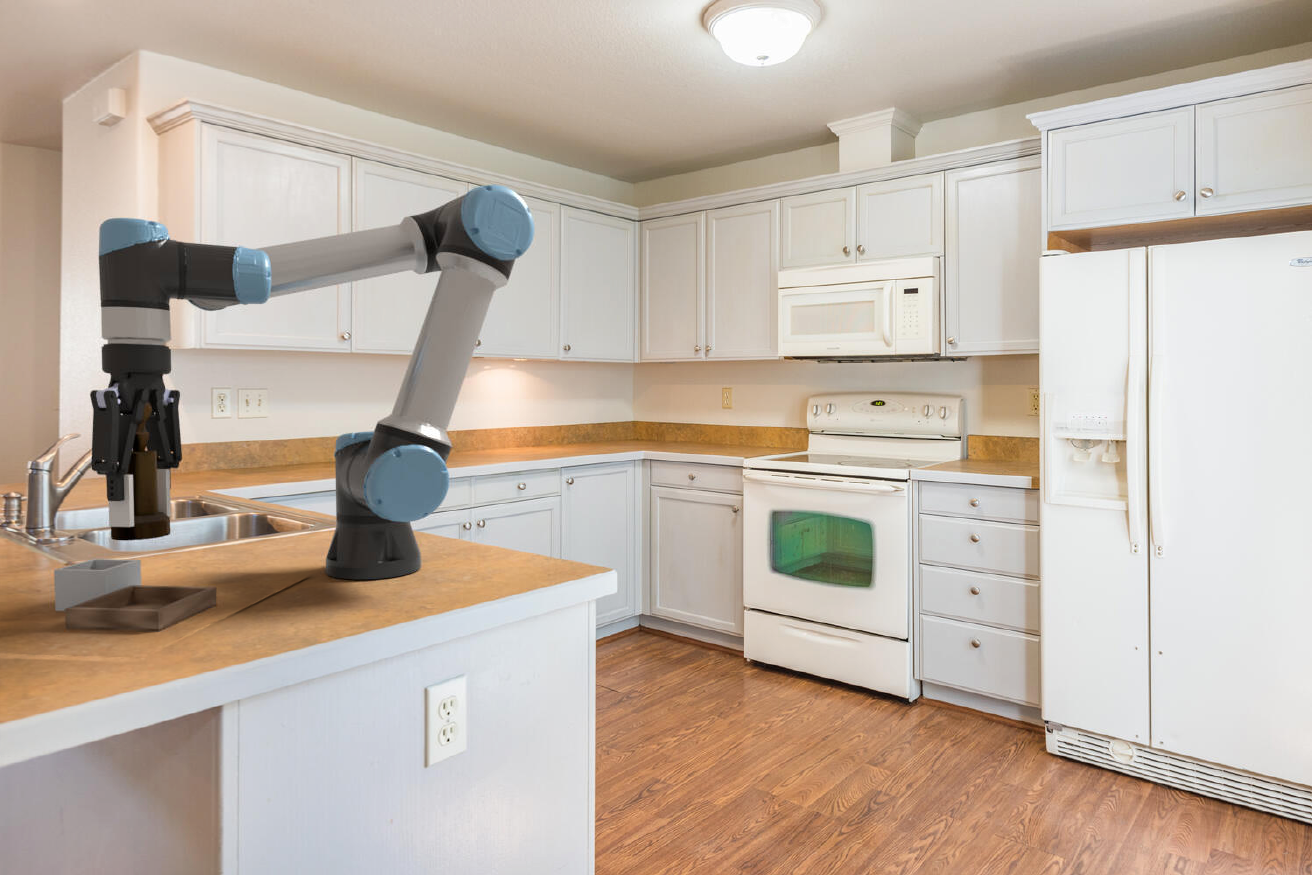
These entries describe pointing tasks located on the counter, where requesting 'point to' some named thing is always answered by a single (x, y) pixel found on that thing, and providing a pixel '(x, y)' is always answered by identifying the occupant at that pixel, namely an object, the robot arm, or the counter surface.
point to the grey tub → (93, 580)
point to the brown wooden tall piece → (144, 491)
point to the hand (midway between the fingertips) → (141, 521)
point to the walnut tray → (141, 608)
